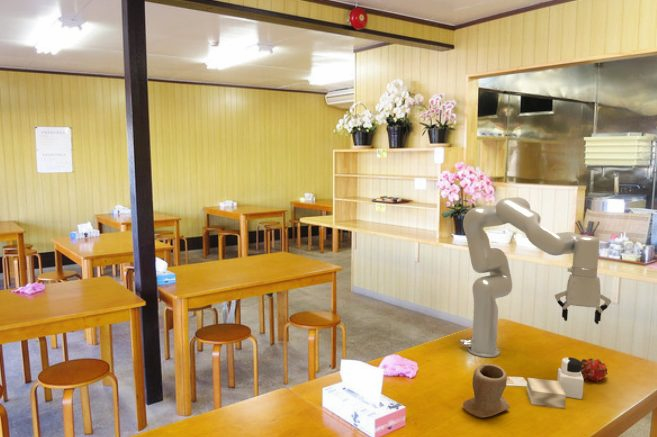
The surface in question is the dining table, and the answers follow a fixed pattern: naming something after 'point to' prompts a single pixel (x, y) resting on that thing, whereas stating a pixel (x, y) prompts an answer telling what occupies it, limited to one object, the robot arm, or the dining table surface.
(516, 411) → the dining table surface
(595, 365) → the dragon fruit
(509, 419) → the dining table surface
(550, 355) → the dining table surface
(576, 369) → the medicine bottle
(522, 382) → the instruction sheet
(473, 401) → the stone cup
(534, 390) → the base block
